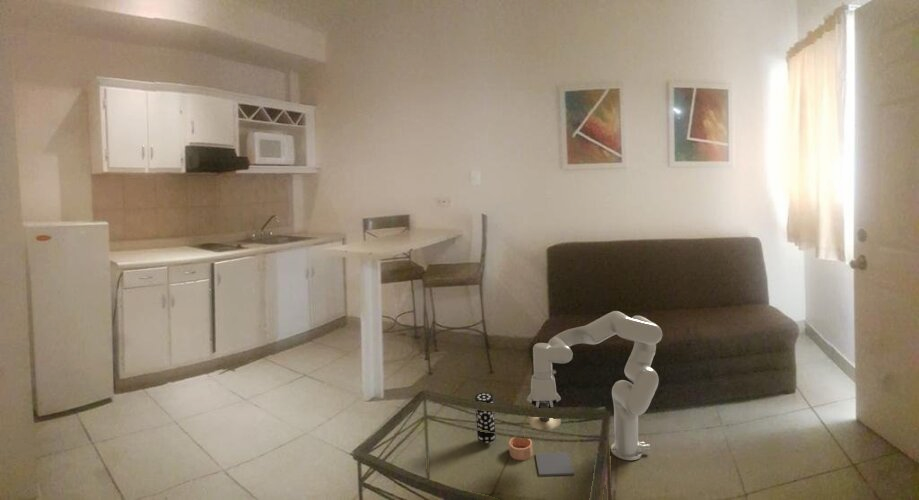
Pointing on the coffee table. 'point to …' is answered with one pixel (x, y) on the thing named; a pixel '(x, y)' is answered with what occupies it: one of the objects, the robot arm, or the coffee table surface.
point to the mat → (554, 464)
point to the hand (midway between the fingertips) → (544, 414)
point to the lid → (544, 420)
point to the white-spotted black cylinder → (485, 419)
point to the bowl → (520, 448)
